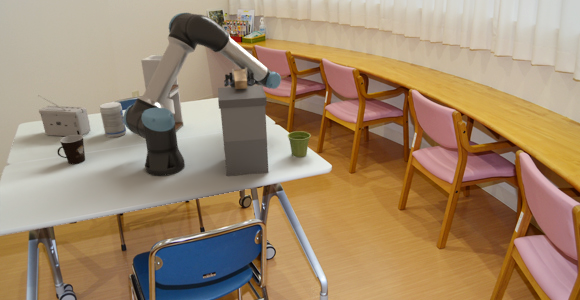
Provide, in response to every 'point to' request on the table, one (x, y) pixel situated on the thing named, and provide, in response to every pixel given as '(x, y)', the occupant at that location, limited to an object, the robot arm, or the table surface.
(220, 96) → the grey box
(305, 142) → the plant pot
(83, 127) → the stereo radio cassette player
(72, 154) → the coffee mug
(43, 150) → the table surface
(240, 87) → the oak slat
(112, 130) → the supplement tub
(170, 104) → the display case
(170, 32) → the robot arm
